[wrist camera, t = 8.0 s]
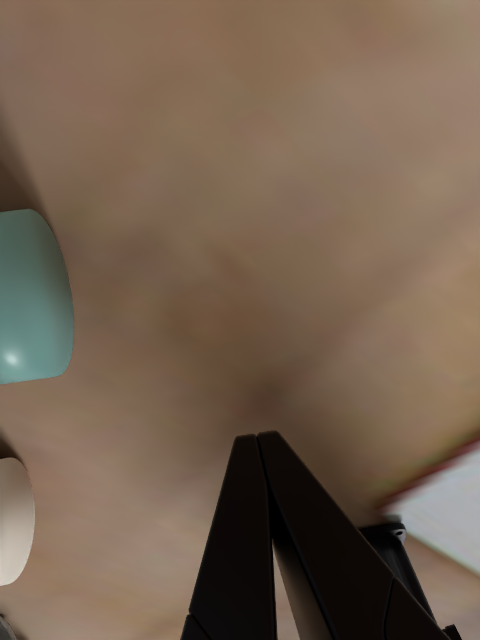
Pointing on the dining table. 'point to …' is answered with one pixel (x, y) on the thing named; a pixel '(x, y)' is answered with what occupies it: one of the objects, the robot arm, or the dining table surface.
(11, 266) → the knob
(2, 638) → the ceramic mug
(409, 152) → the dining table surface
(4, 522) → the knob
